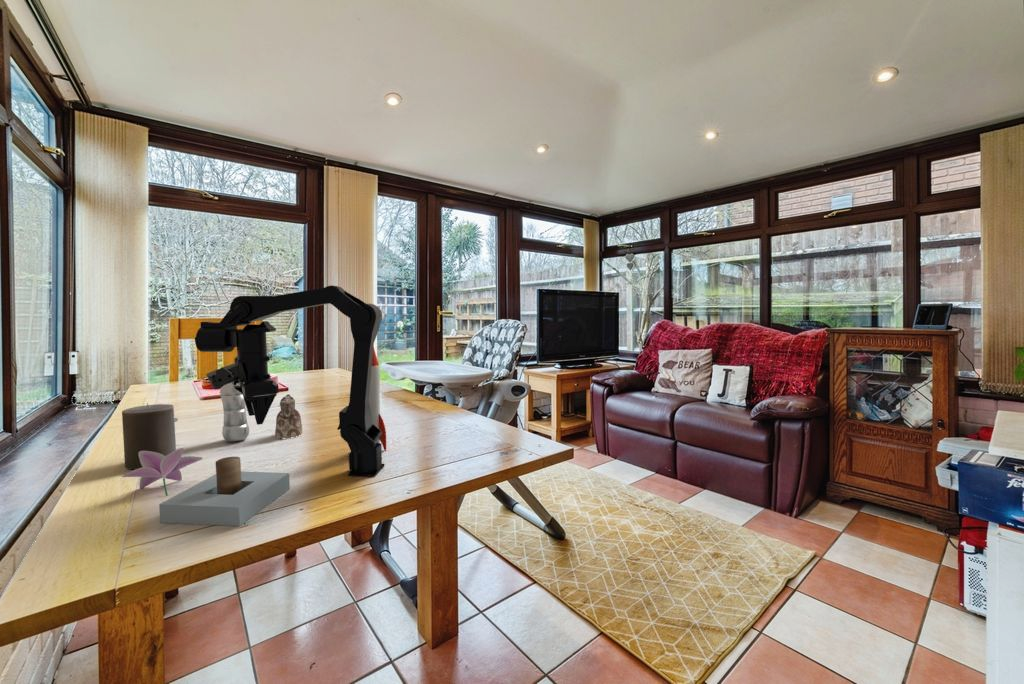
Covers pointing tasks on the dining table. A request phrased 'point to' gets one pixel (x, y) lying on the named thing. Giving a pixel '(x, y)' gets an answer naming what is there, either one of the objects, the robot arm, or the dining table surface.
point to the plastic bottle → (234, 414)
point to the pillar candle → (147, 432)
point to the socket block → (224, 500)
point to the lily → (161, 467)
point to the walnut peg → (228, 475)
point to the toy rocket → (376, 399)
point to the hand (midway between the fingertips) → (255, 419)
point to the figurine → (288, 419)
